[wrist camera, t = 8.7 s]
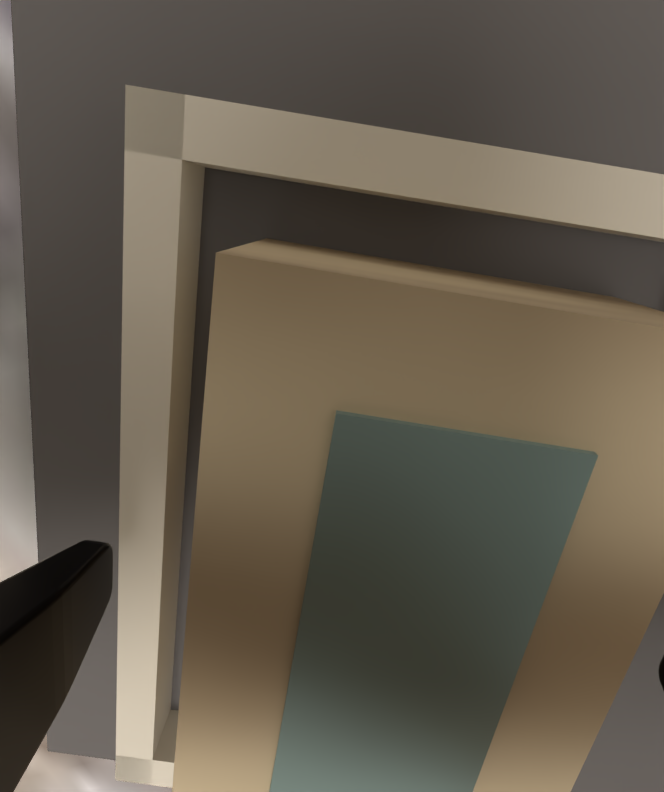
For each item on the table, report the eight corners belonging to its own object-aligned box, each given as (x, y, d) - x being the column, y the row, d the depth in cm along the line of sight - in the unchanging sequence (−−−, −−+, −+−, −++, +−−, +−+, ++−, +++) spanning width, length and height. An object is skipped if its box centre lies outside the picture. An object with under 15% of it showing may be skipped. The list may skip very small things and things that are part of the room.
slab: (469, 718, 12) (517, 916, 9) (216, 682, 12) (164, 869, 8) (615, 297, 9) (787, 349, 5) (266, 238, 9) (213, 254, 5)
